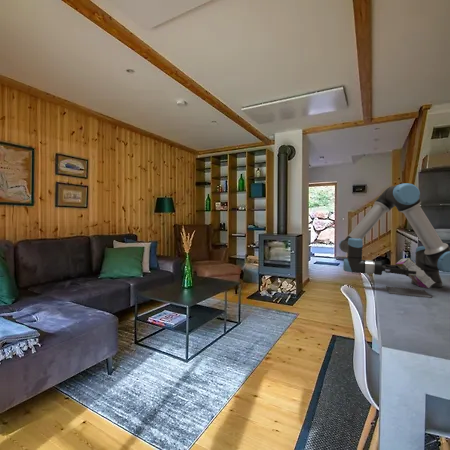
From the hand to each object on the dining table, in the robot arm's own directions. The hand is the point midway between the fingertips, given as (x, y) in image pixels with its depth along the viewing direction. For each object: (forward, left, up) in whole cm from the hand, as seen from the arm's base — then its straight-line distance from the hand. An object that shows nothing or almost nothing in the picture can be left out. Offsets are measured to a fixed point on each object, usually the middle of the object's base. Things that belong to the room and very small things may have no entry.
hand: (420, 271), depth 145 cm
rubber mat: (+6, 0, -12) cm, 13 cm away
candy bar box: (-3, 0, -7) cm, 8 cm away
